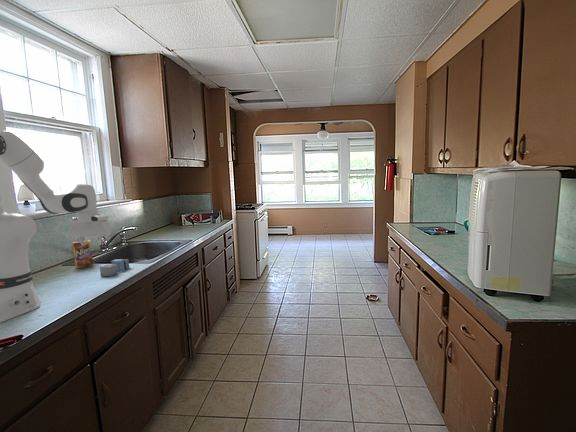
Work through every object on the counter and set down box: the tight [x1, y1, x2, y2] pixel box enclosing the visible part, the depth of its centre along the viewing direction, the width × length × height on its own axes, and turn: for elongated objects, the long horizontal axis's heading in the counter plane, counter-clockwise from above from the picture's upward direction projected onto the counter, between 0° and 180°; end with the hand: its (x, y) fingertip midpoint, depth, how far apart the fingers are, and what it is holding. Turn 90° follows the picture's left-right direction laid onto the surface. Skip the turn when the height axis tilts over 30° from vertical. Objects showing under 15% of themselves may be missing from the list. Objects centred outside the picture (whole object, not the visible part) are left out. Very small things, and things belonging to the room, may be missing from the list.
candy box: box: [72, 239, 94, 270], centre depth 187 cm, size 9×4×15 cm, turn 123°
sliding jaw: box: [99, 263, 119, 277], centre depth 169 cm, size 6×6×5 cm
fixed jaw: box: [123, 258, 130, 270], centre depth 180 cm, size 3×6×5 cm, turn 83°
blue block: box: [110, 258, 126, 273], centre depth 176 cm, size 4×5×6 cm
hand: (91, 245), depth 157 cm, fingers open, 7 cm apart
